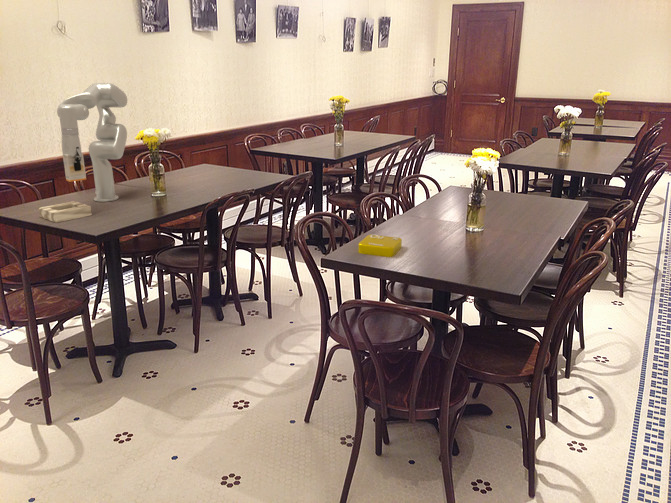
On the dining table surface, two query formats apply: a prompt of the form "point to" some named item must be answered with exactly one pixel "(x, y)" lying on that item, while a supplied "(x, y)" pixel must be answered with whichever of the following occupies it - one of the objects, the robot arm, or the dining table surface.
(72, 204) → the well
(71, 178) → the supplement box
